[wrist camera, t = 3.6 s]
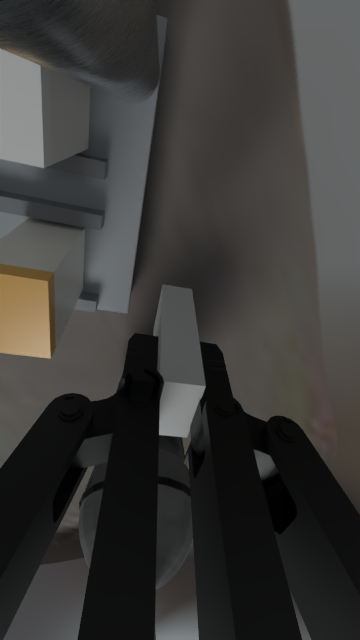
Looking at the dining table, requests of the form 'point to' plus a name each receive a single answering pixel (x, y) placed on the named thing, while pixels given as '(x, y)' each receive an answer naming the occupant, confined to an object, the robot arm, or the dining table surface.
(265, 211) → the dining table surface
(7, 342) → the grey orange block
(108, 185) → the panel
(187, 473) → the beverage cup
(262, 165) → the dining table surface
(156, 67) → the post
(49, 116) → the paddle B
